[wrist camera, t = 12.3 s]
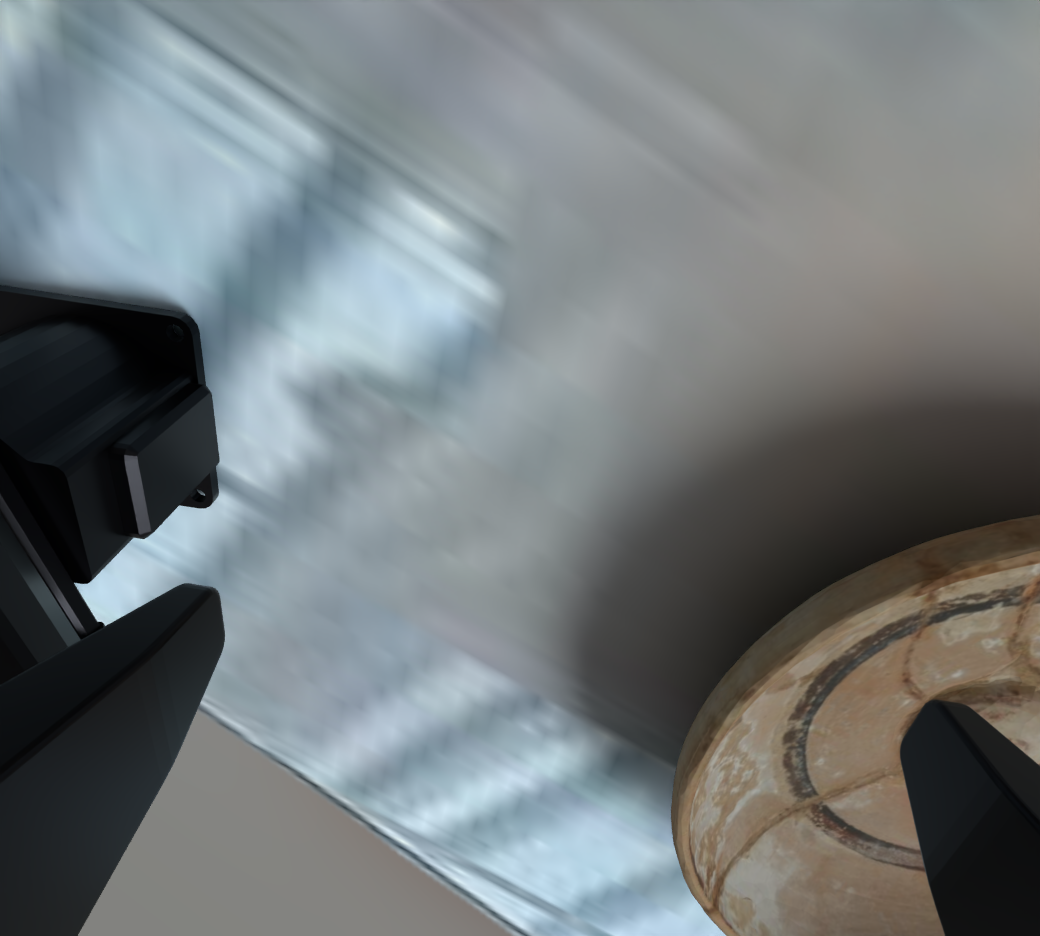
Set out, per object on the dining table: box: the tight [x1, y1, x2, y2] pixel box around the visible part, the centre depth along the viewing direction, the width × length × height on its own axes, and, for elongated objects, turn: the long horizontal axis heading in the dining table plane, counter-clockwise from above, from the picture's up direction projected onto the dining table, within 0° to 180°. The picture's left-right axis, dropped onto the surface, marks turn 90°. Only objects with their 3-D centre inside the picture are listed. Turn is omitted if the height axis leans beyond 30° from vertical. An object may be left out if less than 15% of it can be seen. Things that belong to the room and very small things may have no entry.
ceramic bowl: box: [671, 515, 1040, 936], centre depth 23 cm, size 23×24×5 cm
